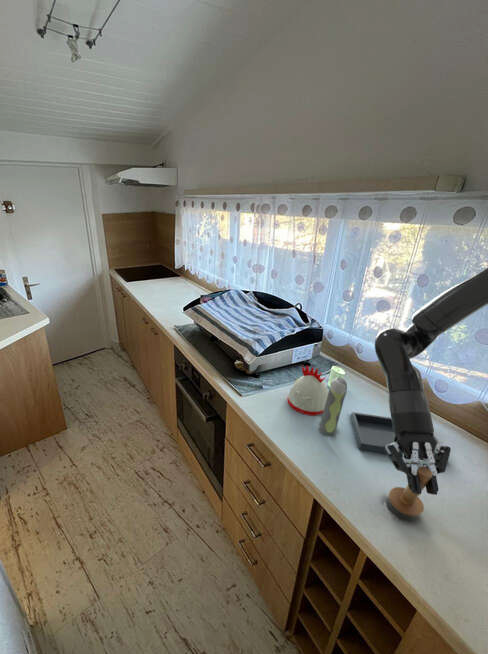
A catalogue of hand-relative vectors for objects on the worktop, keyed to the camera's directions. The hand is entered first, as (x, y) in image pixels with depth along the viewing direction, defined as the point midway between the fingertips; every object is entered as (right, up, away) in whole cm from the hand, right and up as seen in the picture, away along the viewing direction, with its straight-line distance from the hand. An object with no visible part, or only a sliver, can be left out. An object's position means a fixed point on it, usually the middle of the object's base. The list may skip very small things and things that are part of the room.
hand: (424, 493), depth 65 cm
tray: (+12, +3, +29) cm, 31 cm away
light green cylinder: (+7, +17, +55) cm, 58 cm away
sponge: (-23, +25, +71) cm, 79 cm away
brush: (0, -7, +7) cm, 10 cm away
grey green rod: (-6, +5, +33) cm, 33 cm away
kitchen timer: (-7, +12, +46) cm, 48 cm away
